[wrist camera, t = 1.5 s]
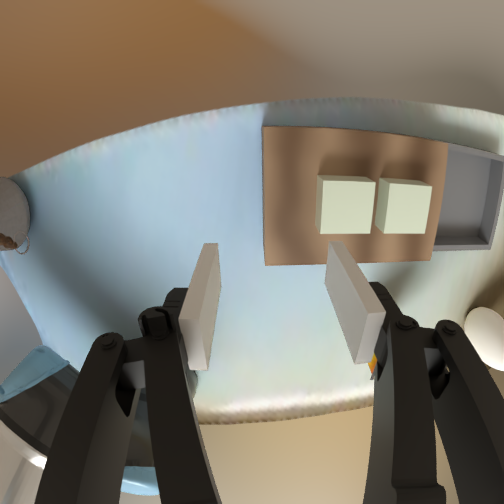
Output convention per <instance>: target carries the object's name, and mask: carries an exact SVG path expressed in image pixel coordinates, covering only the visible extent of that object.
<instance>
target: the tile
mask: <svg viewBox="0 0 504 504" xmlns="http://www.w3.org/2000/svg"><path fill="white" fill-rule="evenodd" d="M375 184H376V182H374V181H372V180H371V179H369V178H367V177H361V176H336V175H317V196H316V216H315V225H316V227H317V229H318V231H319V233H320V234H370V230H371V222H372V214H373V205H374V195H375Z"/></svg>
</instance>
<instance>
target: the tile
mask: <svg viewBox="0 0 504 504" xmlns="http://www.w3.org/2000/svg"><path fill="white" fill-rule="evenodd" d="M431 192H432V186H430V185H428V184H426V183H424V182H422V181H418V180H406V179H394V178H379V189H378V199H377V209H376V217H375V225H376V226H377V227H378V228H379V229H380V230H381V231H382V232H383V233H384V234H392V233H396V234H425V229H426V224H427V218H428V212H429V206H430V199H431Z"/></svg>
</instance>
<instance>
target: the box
mask: <svg viewBox="0 0 504 504" xmlns="http://www.w3.org/2000/svg"><path fill="white" fill-rule="evenodd" d="M426 139H427V138H426ZM431 140H433V139H431ZM435 141H439V140H435ZM440 142H444V141H440ZM444 143H448V155H447V166H446V175H445V183H444V191H443V198H442V204H441V210H440V216H439V222H438V227H437V232H436V237H435V242H434V246H433V251H457V250H490V249H491V245H492V242H493V238H494V234H495V230H496V225H497V221H498V216H499V211H500V206H501V201H502V195H503V189H504V156H502V155H499V154H495V153H492V152H488V151H484V150H480V149H476V148H472V147H468V146H463V145H459V144H454V143H449V142H444Z"/></svg>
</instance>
